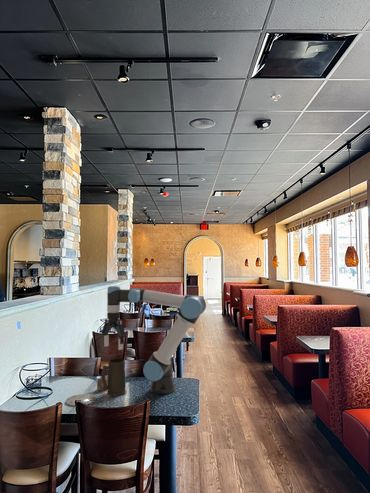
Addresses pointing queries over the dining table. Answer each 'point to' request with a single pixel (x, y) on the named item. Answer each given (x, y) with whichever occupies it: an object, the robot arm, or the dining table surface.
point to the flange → (83, 397)
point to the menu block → (101, 383)
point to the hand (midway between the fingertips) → (113, 347)
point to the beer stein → (114, 377)
